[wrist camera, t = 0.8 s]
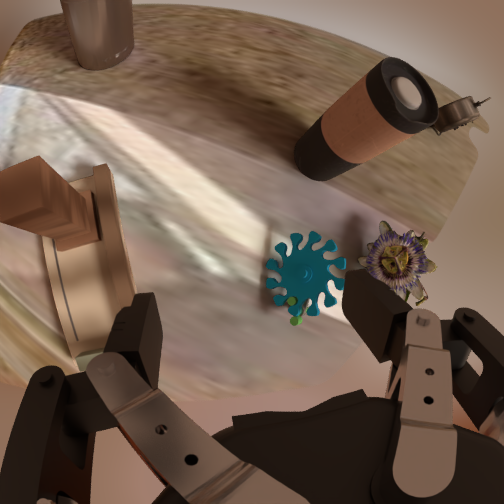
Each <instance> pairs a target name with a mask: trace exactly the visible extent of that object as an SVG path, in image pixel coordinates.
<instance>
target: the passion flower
mask: <svg viewBox="0 0 504 504" xmlns="http://www.w3.org/2000/svg"><path fill="white" fill-rule="evenodd" d="M379 229H380V234H381V235H380V236H379V238H378V239H377V240H376V241H375V243H369V244H367V246H368V250H369V255H368V256H363V257H360V258H358V260H359V263H360V264H361V265H362V266H364V267H366V268H368V269H367V270H368V273H369V274H371V275H372V276H373V277H374V278H376V279H378V280H380V281H382V282H384V283H386V284H387V285H388V286H389V287H390V288H391V289H392V290H394V291H395V292H396V293H397V295H399V296H400V297H401V298H402V299H403V300H404V301H405V302H407V300H408V297H409V294H410V293H412V294H413V296H415V297H416V298H417V299H419V300H421V301H419V302H416V306H419V305H420V304H421V303H423V302H424V301H425V300H427V299H428V295H427V297H426V296H423V290H424V291H425V289H424V287H423V286H422V284H421V283H420V281H419V279H418V277H420V274H427V273H431V272H434V271H435V270H436V268H437V266H436V265H435V263H434V262H432V261H431V260H429V259H428V258H427V257H426V254H425V253H424V252H425V251H423V250H425V249H426V247H427V245H428V239H423V238H424V236H425V235H426V233H425V232H423V234H422V235H421V236H420V237H417V236H416V235H415V233H414V231H413V230H410V231H408V232H407V233H406V235H405V233H404V234H403V236H400V235H398V234H397V233H396V232H395V231H392V228H391V227H390V225H389V224H388V223H387V222H386V221H381V222H380V226H379ZM421 244H422V245H421ZM425 293H426V291H425ZM426 294H427V293H426Z"/></svg>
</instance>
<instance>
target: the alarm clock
mask: <svg viewBox="0 0 504 504" xmlns="http://www.w3.org/2000/svg"><path fill="white" fill-rule="evenodd" d="M489 99H491V98H490V97H489V98H488V99H486V100H484V101H482V102H479V101H478V102H477V103H475V102H474V100H473V98H472V97H471V96H468V97H465V98H462V99H459V100H456V101H454V102H451V103H449V104H447V105H444V106H442V107H440V108H438V110H439V115H438V119H437V121H436V122H435V123H434V126H435V128H436V130H437V131H439V132H440V134H439V136H440V135H441V133H442V132H445V131H448V130H451V129H454V130H456V129H457V128H458V126H464V125H463V124H465V125H467V124H466V123H468V122H471V121H472V123H473V121H474V120H476V119H477V118H478V117H479V111H478V109H477V107H478V106H481V104H482V103H484V102H486V101H487V100H489Z"/></svg>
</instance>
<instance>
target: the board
mask: <svg viewBox="0 0 504 504" xmlns="http://www.w3.org/2000/svg"><path fill="white" fill-rule="evenodd" d="M93 173H94V175H92V176H89V177H86V178H82V179H79V180H76V181H73V182H70V183H69V184H70V185H71V186H72V187H73V188H74V189H75V190H76V191H77V192H78V193H80V192H84V191H87V190H91V191H92V192H93V193H94V199H95V206H96V212H97V218H98V224H99V230H100V235H101V240H102V241H98V242H95V243H91V244H87V245H84V246H80V247H77V248H74V249H70V250H67V251H63V252H60V251H57V248H56V242H55V239H52V238H48V237H45V236H42V240H43V247H44V253H45V258H46V264H47V269H48V274H49V278H50V283H51V287H52V291H53V296H54V300H55V303H56V307H57V311H58V315H59V318H60V322H61V325H62V328H63V331H64V335H65V338H66V341H67V344H68V347H69V350H70V353H71V356H72V358H73V361H74V364H75V366H76V367H78V368H79V370H80V371H86V368H87V365H88V363H89V362H90V361H91V360H92V359H93V358H94V357H96V356H97V355H99V354H102V353H103V351H104V348H105V345H106V342H107V339H108V336H109V333H110V331H111V328H112V325H113V324H114V323H113V322H114V320H115V317H116V314H117V313H118V312H119V311H120V310H121V309H122V308H123V307H127V306H131V304H132V301H133V298H134V295H135V294H137V289H136V286H135V282H134V278H133V274H132V270H131V266H130V261H129V257H128V253H127V248H126V244H125V239H124V234H123V229H122V224H121V219H120V214H119V208H118V203H117V197H116V191H115V184H114V177H113V174H112V173H111V171H110V169H109V167H108V166H107V164H102V165H98V166H95V167H93Z"/></svg>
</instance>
